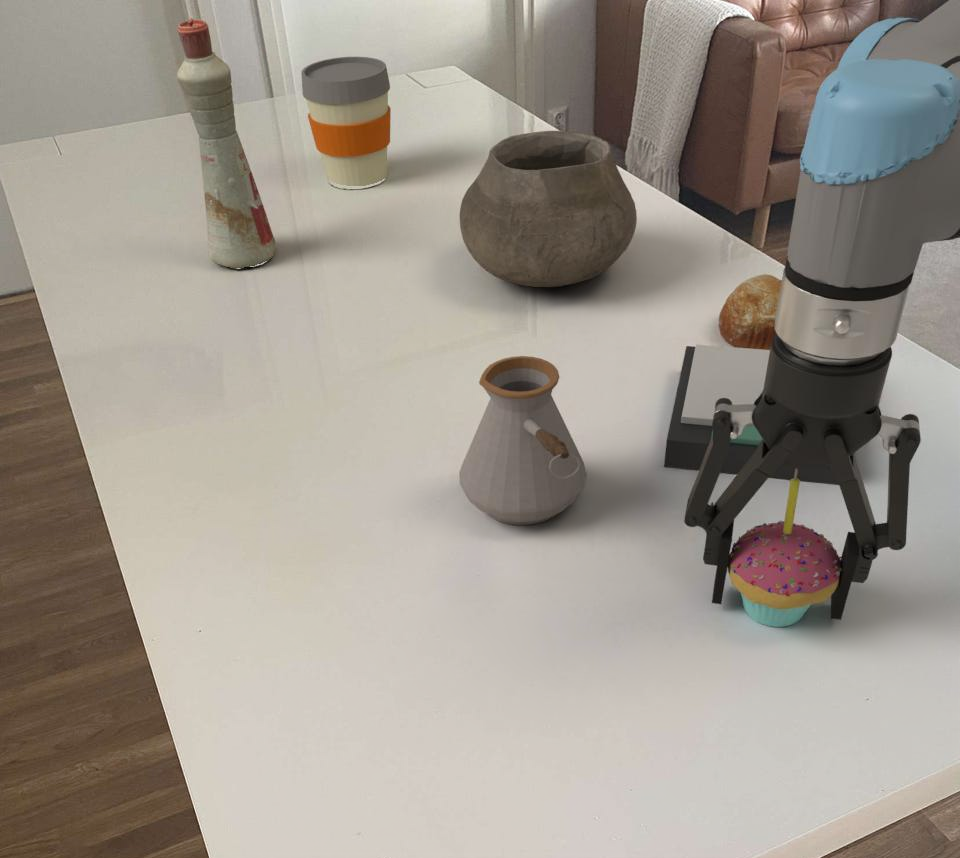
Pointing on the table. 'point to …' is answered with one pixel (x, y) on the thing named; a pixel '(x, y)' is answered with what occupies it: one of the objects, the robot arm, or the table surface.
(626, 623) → the table surface
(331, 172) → the reusable coffee cup
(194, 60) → the bottle
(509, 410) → the coffee pot
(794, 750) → the table surface
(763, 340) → the bread roll
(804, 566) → the cupcake
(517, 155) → the clay pot
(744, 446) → the scale
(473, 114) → the table surface
